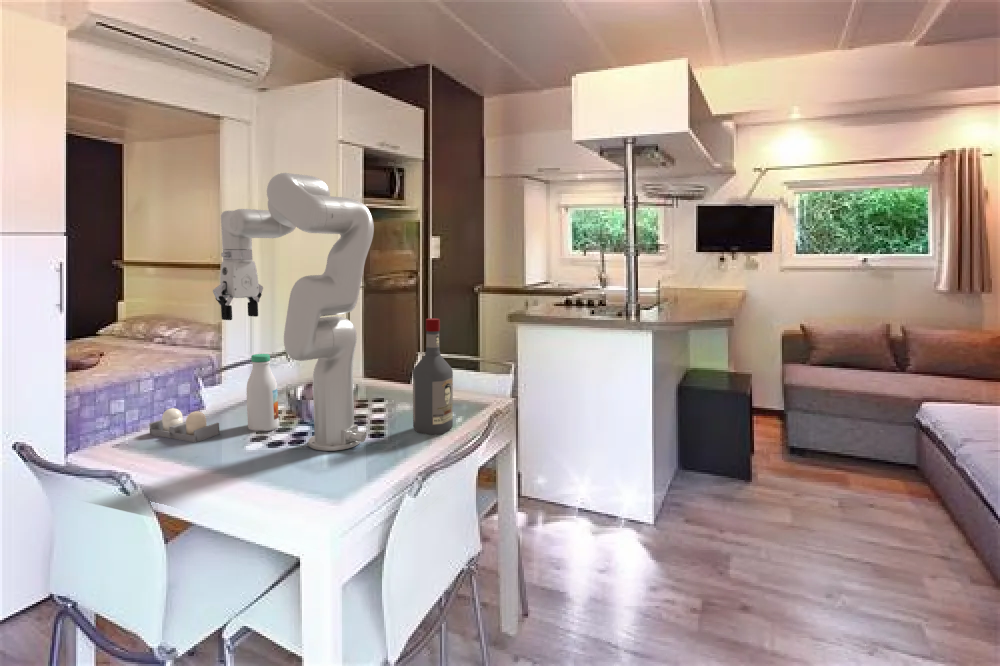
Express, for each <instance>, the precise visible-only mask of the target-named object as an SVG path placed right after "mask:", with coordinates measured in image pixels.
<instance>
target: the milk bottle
mask: <svg viewBox="0 0 1000 666" xmlns="http://www.w3.org/2000/svg"><path fill="white" fill-rule="evenodd" d="M250 357H251V364H252V367H251V368H252V369H251V372H250V375H249V376H248V379H247V381H246V382H247V383H246V409H247V410H246V411H247V412H246V413H247V415H246V416H247V429H248V430H250V431H262V432H269V431H270V432H271V431H273V430H276V429H278V428H279V426H280V424H279V423H280V421H279V419H280V418H279V395H278V384H277V380H276V377H275V375H274V374H273V372H272V368H271V366H270V364H271V355H270V354H269V353H256V354H253V355H251V356H250Z"/></svg>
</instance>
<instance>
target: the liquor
mask: <svg viewBox="0 0 1000 666" xmlns="http://www.w3.org/2000/svg"><path fill="white" fill-rule="evenodd" d="M440 320H441V319H440V318H436V317H435V318H434V317H433V318H426V319H425V332H426V333H425V335H426V337H425V338H426V340H425V341H426V345H425V348H426V349H425V352H424V356H423V357H422V358H421V359H420V360H419V361H418V362H417V364H416V365H415V366H414V367H413V370H412V419H413V420H412V421H413V422H412V428H413V429H414V431H415V432H416V434H423V435H429V436H438V435H444V434H445V433H447V432H449V431H451V430H452V428H453V420H454V418H453V417H454V416H453V411H454V410H453V409H454V408H453V407H454V406H453V403H454V400H453V399H454V398H453V397H454V396H453V395H454V392H453V391H454V386H453V385H454V382H453V380H454V379H453V378H454V377H453V376H454V375H453V374H454V372H453V369H452V366H451V365H450V364H449V363H448V362H447V361H446V359H444V357H443V356H442V355H441V354H442V353H441V351H440V350H441V349H440V331H441V321H440ZM450 429H451V430H450Z"/></svg>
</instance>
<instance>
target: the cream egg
mask: <svg viewBox="0 0 1000 666" xmlns="http://www.w3.org/2000/svg"><path fill="white" fill-rule="evenodd" d="M183 419H184V418H183V413H182V412H181V410H180V409H178V408H175V407H171V408H168V409H166V410H165V411H163V413H162V417H161V420H162V423H163V431H169V432H170V426H173V425H177V424H180V423H183V422H184V421H183Z"/></svg>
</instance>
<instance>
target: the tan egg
mask: <svg viewBox="0 0 1000 666" xmlns="http://www.w3.org/2000/svg"><path fill="white" fill-rule="evenodd" d="M185 422H186V434H187V435H193V436H194V430H197V429H200V428H203V427H206V426H208V425H207V417H206V415H205V413H203V412H201V411H198V410H197V411H196V410H195V411H192V412H190V413H189V414H188V415H187V417H186V418H185Z"/></svg>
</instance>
